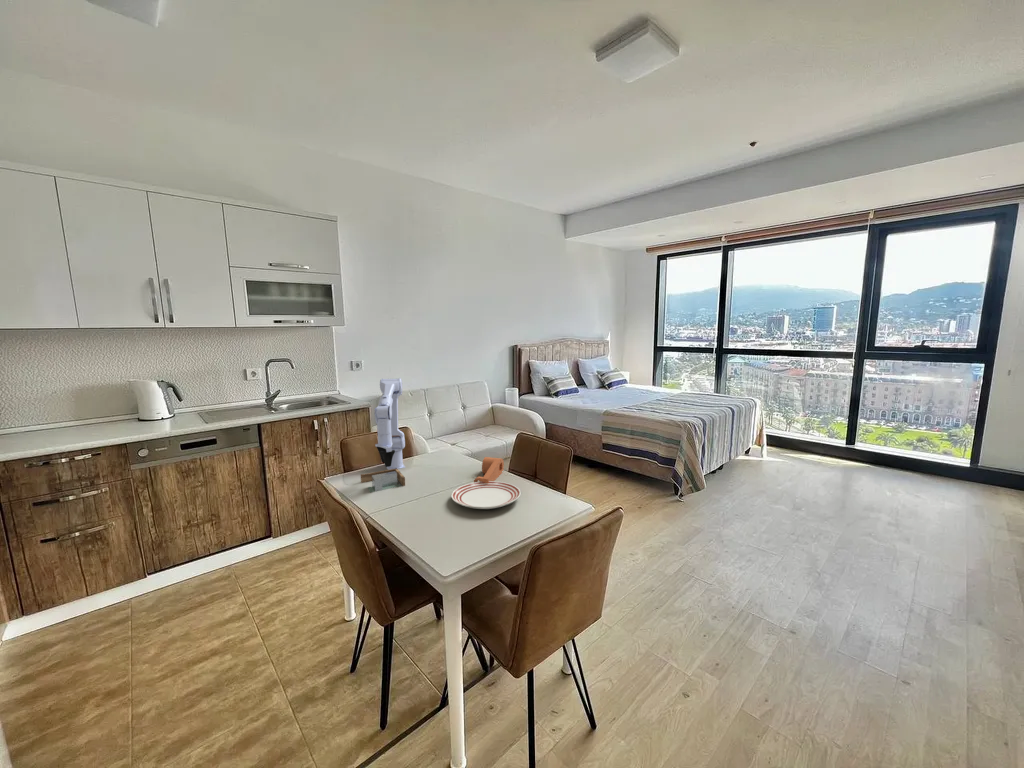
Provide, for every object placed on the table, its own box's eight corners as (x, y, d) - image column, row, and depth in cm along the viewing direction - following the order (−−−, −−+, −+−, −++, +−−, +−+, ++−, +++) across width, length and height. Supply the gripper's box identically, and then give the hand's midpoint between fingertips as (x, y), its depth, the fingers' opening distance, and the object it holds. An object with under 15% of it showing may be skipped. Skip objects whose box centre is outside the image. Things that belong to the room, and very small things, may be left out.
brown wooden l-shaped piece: (361, 483, 176) (360, 474, 176) (397, 476, 184) (396, 468, 184) (366, 494, 164) (366, 484, 164) (405, 486, 172) (404, 477, 172)
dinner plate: (449, 490, 168) (449, 482, 168) (512, 484, 174) (512, 476, 173) (453, 519, 141) (453, 510, 141) (528, 511, 147) (528, 502, 146)
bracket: (395, 482, 177) (395, 471, 176) (399, 486, 171) (398, 475, 171) (372, 486, 172) (371, 475, 171) (375, 491, 167) (374, 479, 166)
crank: (488, 470, 191) (488, 454, 190) (504, 472, 188) (503, 456, 187) (471, 486, 172) (470, 468, 171) (488, 488, 170) (487, 470, 169)
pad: (367, 487, 172) (367, 486, 172) (397, 481, 178) (397, 480, 178) (370, 492, 166) (370, 492, 166) (401, 486, 172) (401, 485, 172)
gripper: (371, 431, 175) (373, 461, 177) (378, 438, 162) (380, 470, 164) (387, 429, 178) (389, 458, 180) (395, 436, 166) (397, 467, 167)
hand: (386, 463), depth 172 cm, fingers open, 7 cm apart
